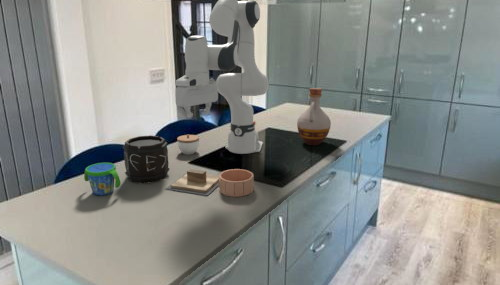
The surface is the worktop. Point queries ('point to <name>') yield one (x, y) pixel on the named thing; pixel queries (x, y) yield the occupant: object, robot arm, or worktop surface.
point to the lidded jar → (188, 143)
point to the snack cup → (102, 178)
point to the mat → (194, 191)
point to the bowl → (236, 182)
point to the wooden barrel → (146, 159)
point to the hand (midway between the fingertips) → (198, 115)
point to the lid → (196, 181)
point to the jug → (314, 121)
